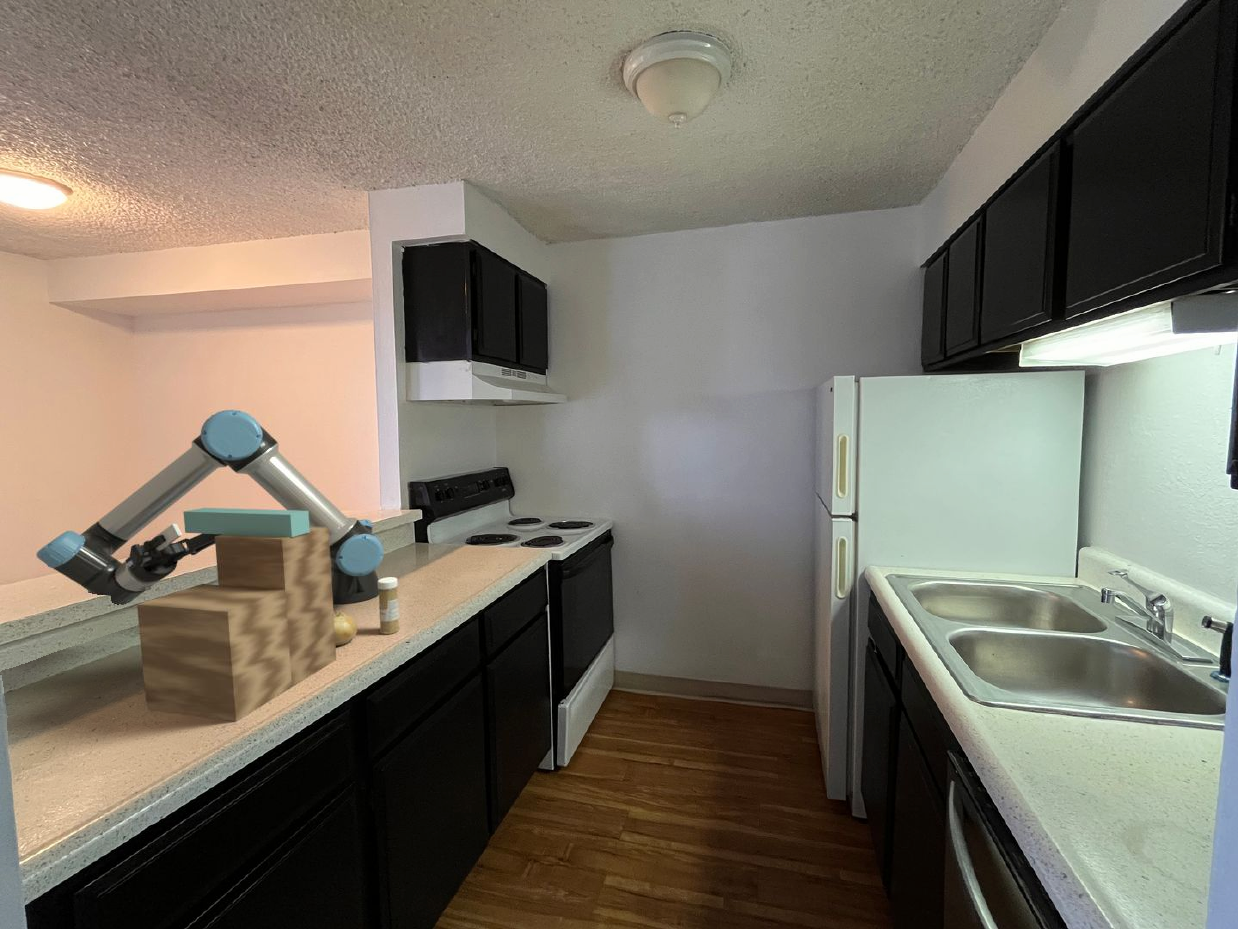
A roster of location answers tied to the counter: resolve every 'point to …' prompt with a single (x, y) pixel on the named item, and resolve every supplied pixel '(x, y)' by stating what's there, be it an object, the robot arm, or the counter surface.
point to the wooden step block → (241, 628)
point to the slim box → (247, 522)
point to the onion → (344, 628)
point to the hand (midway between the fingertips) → (210, 522)
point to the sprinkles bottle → (388, 605)
